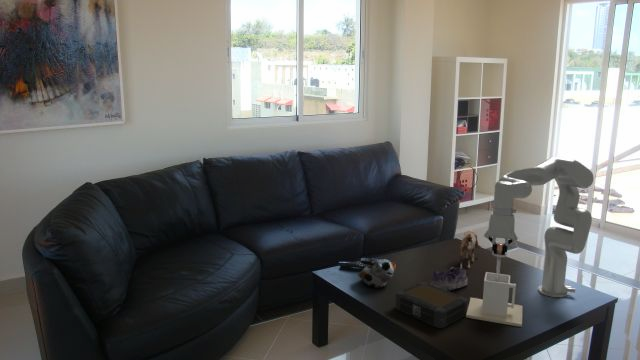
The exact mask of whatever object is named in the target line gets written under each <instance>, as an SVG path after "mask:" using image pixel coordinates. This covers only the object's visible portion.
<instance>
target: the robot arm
mask: <svg viewBox="0 0 640 360" xmlns="http://www.w3.org/2000/svg"><path fill="white" fill-rule="evenodd" d="M594 177H595V176H594V174H593V172H592V170H590V168H588V167H586V166H585V165H584V164H583V163H582V162H580V161H577V160H576V159H573V158H566V157H560V156H559V157H558V156H554V157H553V156H552V157H550V158H548V159H545V160H544V161H542V162H540V163H539V164H536V165H535V166H532V167H527V168H526V167H525V168H523V169H516V170H513V171H510V172H508V173H506V174H504V175H502V176H501V177H500V178H499V180H498V181H496V183H495V184H494V192H493V193H494V194H493V207H492V208H493V209H492V212H491V213H490V216H489V220H488V228H487V230H486V232H485V233H484V234H483V237H484V238H486V239H488V240H489V242H491V244H492V247H491V251H492V252H494V254H495V253H496V243H497V241H496V240H497V239H504V243H503V244H504V250H503V254H504V255H505V253H506V254H507V253H508V246H509V245H510V244H511V243H513V242H516V241H518V239H519V238H518V236H517V234H516V232H515V225H516V224H515V214H516V213H517V209H515V208H514V199H520V200H521V199H526V198H528V197H529V196H530V195H531V194H532V191H533V187H532V186H543V185H546V184H548V183H549V182H551V181H553V180H554V181H555V182H556V185H557V187H558V191H559V192H558V193H559V194H558V199H557V202H556V206H555V210H554V214H553V221H554V222H555V223H557V224H559V225H561V226H563V227H568V228H571V229H573V230H569V229H567V228H563V227H560V226H551V227H548V228H547V229H546V230H545V232H544V238H543V239H544V240H543V241H544V246H545V247H544V250H545V251H544V262H543V271H542V272H543V273H542V283H541V285H539V286H538V287H537V291H538V292H539V293H540V294H542V295H544V296H546V297H550V298H557V297H558V298H559V297H560V298H564V297H567V296H568V292H569V293H576V288H573V286H569V285H566V274H567V273H566V272H567V265H568V264H567V263H568V254H567V253H570V254H573V255H575V254H576V255H578V254H581V253H582V252H583V251H584V249H585V247H586V244H587V240H588V237H589V234H590V230H591V226H592V222H593V219H592V214H591V212H590V211H589V210H588V209H584V208H581V207H578V206H579V201H580V196H581V195H580V191H579V189H588V188H590V187H591V186H592V185H593V183H594V179H595V178H594Z"/></svg>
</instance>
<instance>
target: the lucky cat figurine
mask: <svg viewBox="0 0 640 360" xmlns="http://www.w3.org/2000/svg"><path fill="white" fill-rule="evenodd" d="M396 265H397V262H396V261H394V262H391V260H388V259H386V258H383V259H382V258H381V259H378V260H376V261H375V262H374V261H370V265H368V266H367V265H366V266H365V267H363V268H362V270H361V271H359V272H357V276H358V277H359V278H360V279H361V280H362V281H363V282H364V284H366V285H367V286H369V287H373V288H374V289H379V288H383V286H384V287H385V286H386V284H387V282H388V281H389V280H390V279H391V278H392V277H393V275H394V272H395V270H396V267H397V266H396Z"/></svg>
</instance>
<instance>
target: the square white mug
mask: <svg viewBox="0 0 640 360" xmlns="http://www.w3.org/2000/svg"><path fill="white" fill-rule="evenodd" d="M495 281H496V272H488V271H486V272H485V275H484V280H483V296H482V299H481V298H478V297H469V303H468V305H467V314H466V316H465V318H470V319H472V320H479V321H484V322H490V323H491V322H492V323H497V324H503V325H509V326H515V327H519V328H523V305H520V304H515V303H516V302H515V299H516V291H517V290H516V288H517V283H511V275H509V274H502V273H500V274H499V282H495ZM511 288H512V295H511V296H512V299H511V303H510V302H509V297H510V296H509V295H510V289H511Z"/></svg>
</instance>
